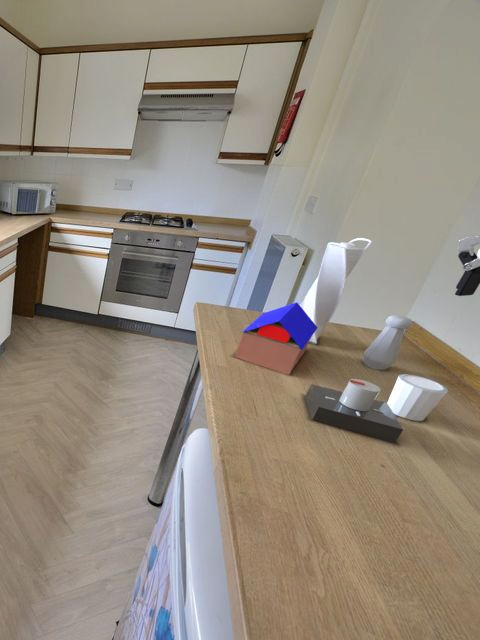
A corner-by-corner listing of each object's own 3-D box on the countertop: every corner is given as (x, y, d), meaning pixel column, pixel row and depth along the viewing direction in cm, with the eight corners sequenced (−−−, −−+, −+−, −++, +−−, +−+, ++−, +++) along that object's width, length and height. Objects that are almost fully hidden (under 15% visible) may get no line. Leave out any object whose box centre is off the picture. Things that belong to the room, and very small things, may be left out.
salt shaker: (358, 358, 104) (383, 310, 98) (388, 365, 101) (415, 316, 95) (361, 366, 99) (387, 317, 94) (392, 374, 97) (422, 324, 91)
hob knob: (366, 403, 79) (378, 382, 76) (371, 414, 75) (383, 392, 73) (337, 395, 81) (348, 375, 79) (340, 405, 77) (352, 384, 75)
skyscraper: (324, 338, 114) (372, 237, 102) (322, 347, 109) (373, 241, 96) (288, 329, 119) (329, 232, 107) (284, 337, 113) (327, 235, 101)
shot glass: (374, 406, 83) (391, 376, 80) (392, 400, 86) (409, 371, 83) (418, 426, 78) (438, 395, 75) (435, 418, 80) (455, 388, 77)
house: (306, 350, 106) (326, 309, 101) (290, 375, 94) (311, 329, 88) (254, 335, 114) (270, 295, 109) (232, 356, 101) (248, 313, 96)
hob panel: (379, 415, 80) (387, 402, 79) (395, 443, 73) (404, 429, 71) (305, 395, 86) (311, 383, 84) (312, 419, 78) (319, 406, 77)
